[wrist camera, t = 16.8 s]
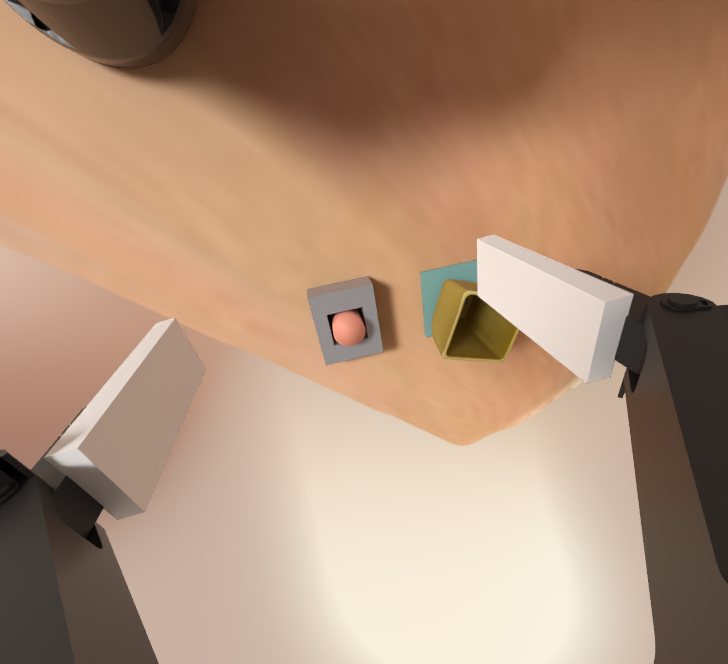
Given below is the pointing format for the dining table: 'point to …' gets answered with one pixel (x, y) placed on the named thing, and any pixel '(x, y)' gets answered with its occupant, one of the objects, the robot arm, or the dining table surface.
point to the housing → (342, 300)
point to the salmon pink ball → (348, 327)
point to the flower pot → (470, 325)
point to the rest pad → (434, 282)
